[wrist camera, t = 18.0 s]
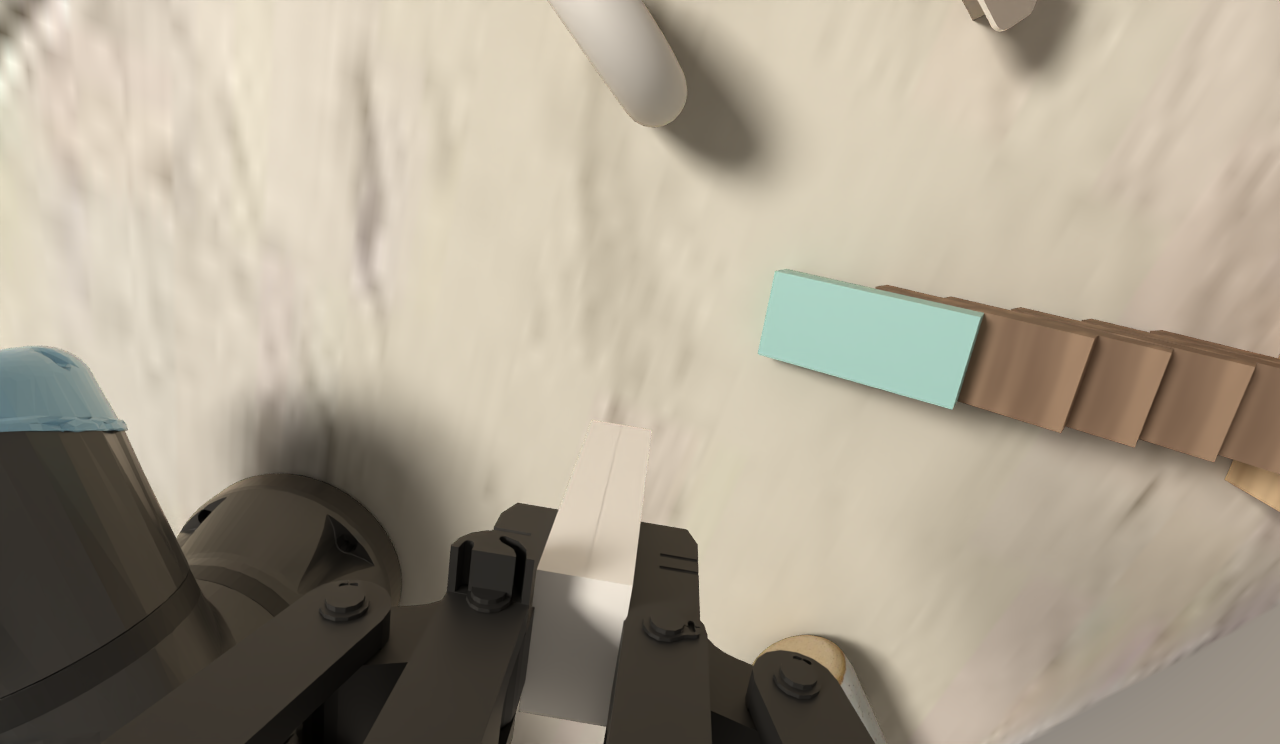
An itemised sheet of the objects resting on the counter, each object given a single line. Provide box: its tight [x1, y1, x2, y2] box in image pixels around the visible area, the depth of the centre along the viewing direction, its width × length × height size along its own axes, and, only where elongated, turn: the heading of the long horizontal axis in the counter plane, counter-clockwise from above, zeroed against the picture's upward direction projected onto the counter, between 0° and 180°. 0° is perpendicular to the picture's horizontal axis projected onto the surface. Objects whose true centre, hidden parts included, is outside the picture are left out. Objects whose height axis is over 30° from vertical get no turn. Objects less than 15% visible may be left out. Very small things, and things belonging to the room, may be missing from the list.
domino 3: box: [1011, 307, 1256, 462], centre depth 38 cm, size 2×5×11 cm
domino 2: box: [945, 297, 1173, 448], centre depth 38 cm, size 2×5×11 cm
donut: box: [547, 0, 687, 128], centre depth 34 cm, size 10×4×10 cm, turn 36°
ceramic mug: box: [752, 635, 887, 744], centre depth 46 cm, size 11×8×8 cm
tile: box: [758, 269, 984, 410], centre depth 39 cm, size 2×5×11 cm
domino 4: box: [1081, 319, 1280, 474], centre depth 38 cm, size 2×5×11 cm
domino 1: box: [876, 285, 1099, 433], centre depth 38 cm, size 2×5×11 cm
